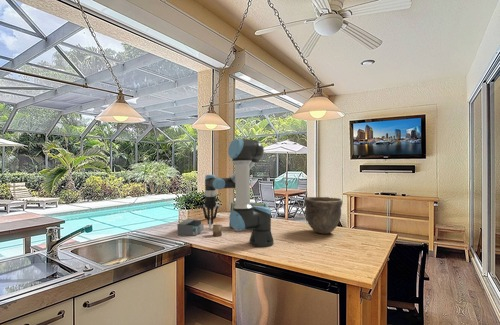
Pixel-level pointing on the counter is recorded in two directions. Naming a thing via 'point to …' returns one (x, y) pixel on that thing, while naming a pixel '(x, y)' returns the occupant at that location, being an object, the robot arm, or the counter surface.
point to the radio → (250, 204)
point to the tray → (198, 229)
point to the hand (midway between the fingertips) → (210, 228)
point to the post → (217, 230)
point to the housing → (187, 227)
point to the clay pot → (323, 213)
